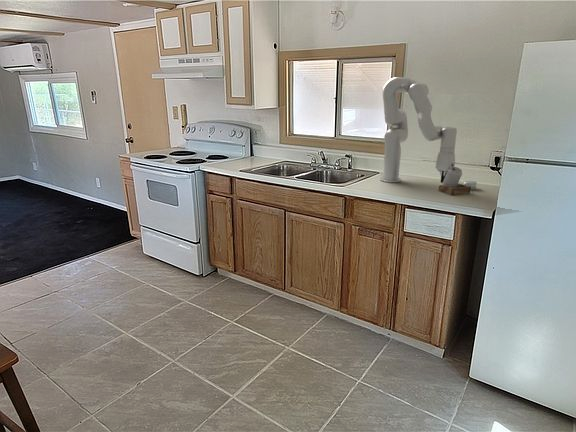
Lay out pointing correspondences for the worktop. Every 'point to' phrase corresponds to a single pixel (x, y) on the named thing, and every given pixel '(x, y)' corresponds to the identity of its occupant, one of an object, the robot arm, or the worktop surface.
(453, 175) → the can
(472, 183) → the white small piece
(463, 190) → the bay
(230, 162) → the worktop surface
